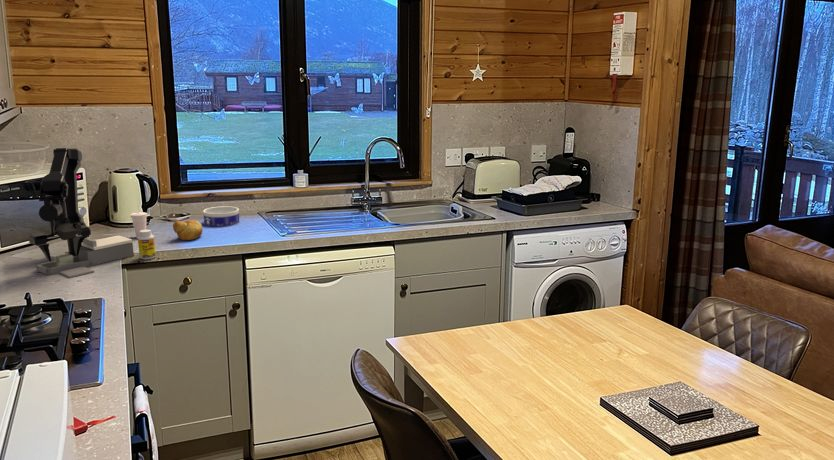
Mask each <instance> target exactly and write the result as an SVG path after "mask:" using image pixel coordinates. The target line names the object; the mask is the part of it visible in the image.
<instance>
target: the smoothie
mask: <svg viewBox="0 0 834 460" xmlns="http://www.w3.org/2000/svg"><path fill="white" fill-rule="evenodd" d="M137 207H138V212H133V213H131V214H130V218H131V221H132V225H133V229H134V233H135V234H134V235H135V237H136V238H137V239H138V237H139V236H140V231H141V230H147V216H148V213H147V212H144V211H143V212H142V211H141V206H140V202H138V203H137Z"/></svg>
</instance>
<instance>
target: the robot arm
mask: <svg viewBox="0 0 834 460" xmlns="http://www.w3.org/2000/svg"><path fill="white" fill-rule="evenodd" d="M82 161H83V155H82V151H80V150H79V149H78V148H69V147H56V148H54V149H53V158H52V161H51V165H50V170H49V173H47V174H46V175H44V176H43V178H42V180H41V182H40V184H39V196H38V202H43V205H42V206H41V207H40V208H39V210H38V216H39V217H40V219H41V220H43V222H44V221H45V222H48V223H49V224H48V225H49V229H48V232H49V233H48V234H45V233H42V232H37V233H33V234H29V236H28V243H29V244H31V245H34V246H37V247H38V248H39V250H41V251H42V254H44V256H45V258H46V259H47V262H51V261H52V258H51V252H50V249H49V248H50V244H49V243H48V241H50V240H55V239H59V238H60V239H61V241H66V243H67V249H68V251H65V252H64V254H65V253H68V254H70V255H73V257H74V256H78V255H79V251H80V247H83V246H82V243H83V240H84V239H85V238H89V237H90V236H91V235H92V229H91V228H90V227H89V226H87V224H86V222H85V220H84V217H83V216H82V214H81V213H80V212H79V197H78V179H77V178H78V176H77V173H78V171H79V169H80V168H81V166H82V165H81V162H82Z"/></svg>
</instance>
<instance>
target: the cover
mask: <svg viewBox="0 0 834 460" xmlns="http://www.w3.org/2000/svg"><path fill="white" fill-rule="evenodd" d="M131 242H132V243H133V239H131V238H128V237H125V236H122V235H115V236H114V235H113V236H110V237H104V238H98V239H92V238H91V237H90V238H89V237H87V238H85V239H84V240H83V243H82V246H84V247H87V248H90V249H92V250H98V249H103V248H108V247H112V246H117V245H122V244H127V243H131Z"/></svg>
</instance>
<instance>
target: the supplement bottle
mask: <svg viewBox="0 0 834 460" xmlns="http://www.w3.org/2000/svg"><path fill="white" fill-rule="evenodd" d="M155 241H156V240H155V235H154V234H152V229H146V230H141V231H140V236H139V237H138V238H137V243H138V254H139V259H141V260H151V259H152V260H153V259H155V257H156V256H157V255H156V253H157V252H156V243H155Z"/></svg>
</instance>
